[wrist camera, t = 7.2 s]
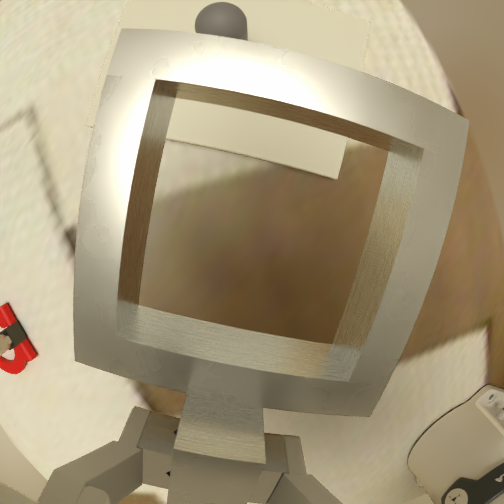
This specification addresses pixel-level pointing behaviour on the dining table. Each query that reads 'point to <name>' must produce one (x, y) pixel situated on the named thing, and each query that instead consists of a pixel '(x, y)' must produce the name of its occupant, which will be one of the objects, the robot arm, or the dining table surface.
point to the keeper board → (265, 32)
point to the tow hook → (13, 342)
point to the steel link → (235, 339)
